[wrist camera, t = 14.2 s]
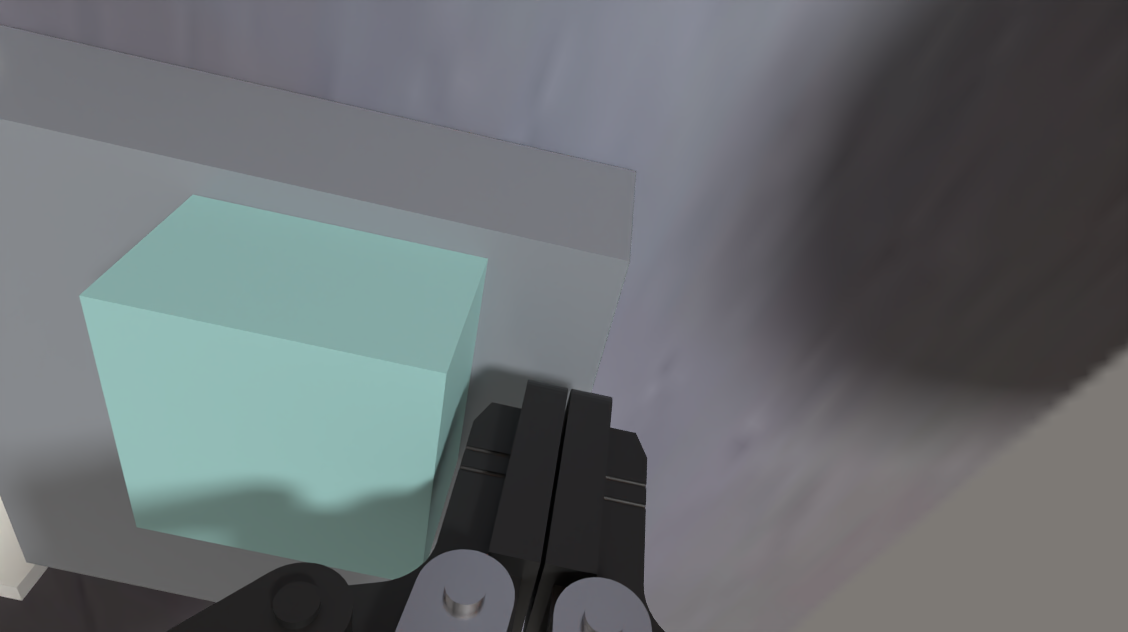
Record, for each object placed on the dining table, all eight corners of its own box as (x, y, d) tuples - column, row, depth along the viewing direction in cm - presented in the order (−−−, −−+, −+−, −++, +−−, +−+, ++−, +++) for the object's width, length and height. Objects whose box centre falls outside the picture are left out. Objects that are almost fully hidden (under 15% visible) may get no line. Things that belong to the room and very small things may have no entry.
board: (-5, 23, 15) (-164, 81, 12) (636, 171, 15) (629, 261, 12) (106, 463, 22) (26, 562, 20) (529, 554, 23) (510, 664, 20)
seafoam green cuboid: (192, 194, 12) (79, 295, 10) (487, 258, 12) (447, 373, 10) (219, 409, 15) (136, 527, 13) (457, 459, 15) (420, 585, 13)
